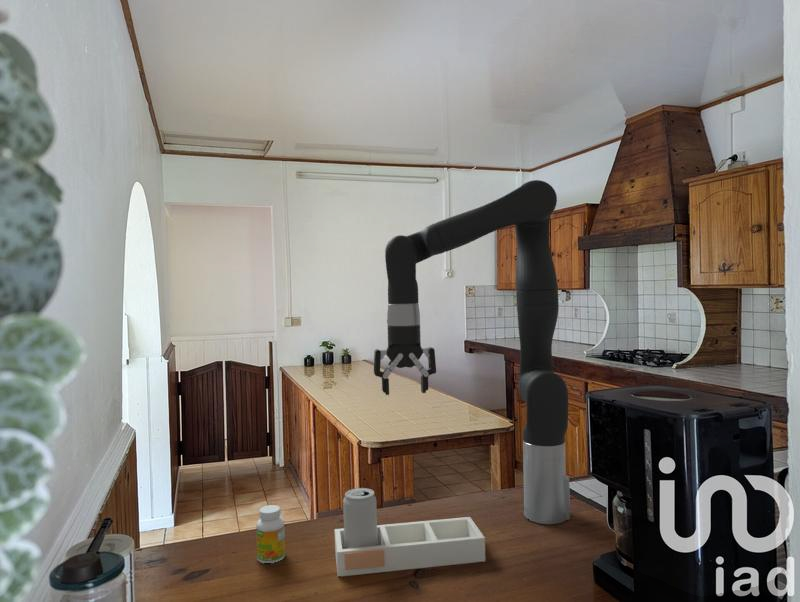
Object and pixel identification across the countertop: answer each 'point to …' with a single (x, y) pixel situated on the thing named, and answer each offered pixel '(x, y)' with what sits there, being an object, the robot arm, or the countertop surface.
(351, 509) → the beverage can
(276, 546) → the supplement bottle
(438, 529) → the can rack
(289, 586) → the countertop surface
